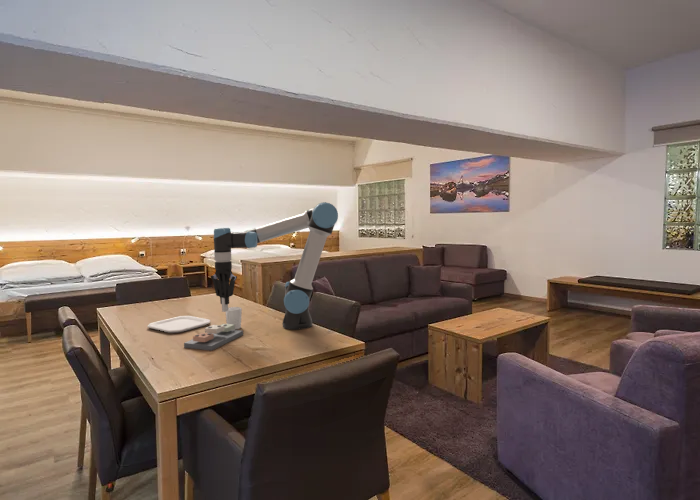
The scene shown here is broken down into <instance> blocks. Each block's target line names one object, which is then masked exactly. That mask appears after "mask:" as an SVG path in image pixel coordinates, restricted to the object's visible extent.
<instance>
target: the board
mask: <svg viewBox="0 0 700 500" xmlns="http://www.w3.org/2000/svg"><path fill="white" fill-rule="evenodd" d="M212 334H214V333H212ZM242 336H244V330H241V329H236V330H231V331H229V332H219V333H217V334H214V338H213V339H211V340H209V341H207V342H197V341H193V338H192V339H189V340H188V341H185V342H184V343H183V348H185V349H187V348H188V349H194V350H195V349H196V350H203V351H204V350H205V351H213V350H214V351H215V350H216V349H218V348H220V347H222V346H223V345H226V344H228V343H230V342H232V341H233V340H237V339H238V338H240V337H242Z"/></svg>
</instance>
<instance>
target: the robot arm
mask: <svg viewBox="0 0 700 500" xmlns="http://www.w3.org/2000/svg"><path fill="white" fill-rule="evenodd" d="M338 220H339V213H338V210H337V208H336V207H335V205H333V204H332V203H330V202H320V203H318V204H316V206H314V207H312V208H309V209H307V210H305V211H304V212H303V213H299V214H296V215H293V216H291V217H287V218H284V219H280V220H277V221H274V222H271V223H268V224H264V225H261V226H258V227H254V228H252V229H247V230H245V231H231V227H230V228H229V227H216V228H214V230H213V238H212V239H213V248H214V249H213V251H214V253H213V254H214V257H213V258H214V261H215V262H214V270H215V271H214V274H213V275H210V278H211V280H212V282H213V283H212V284H213V287H214V291H215V296H216V297H219V299H220V300H219V301H220V305H221V312H223V313H226V311H228V308H229V304H230V298H231V297H232V296H234V289H235V284H236V281H237V279H238V276H237V275H234V274H233V271H232V269H233V265H232V264H233V263H232V249H252V248H253V249H254V248H257V246H258V244H260V243H263V242H266V241H269V240H273V239H277V238H279V237H282V236H286V235H290V234H292V233H295V232H298V231H299V232H300V231H302V230H305V229H309V233H308V236H307V239H306V243H305V244H304V249H303V251H302V254H301V257H300V260H299V263H298V266H297V269H296V272H295V275H294V278H293V279H291V280H289V281H286V282H285V286H284V289H285V290H284V291H285V292H284V293H285V294H284V297H283V305H284V307H285V313H284V316H283V319H282V328H284V329H287V330H295V331H296V330H297V331H299V330H305V329H309V328H311V327H312V326H313V320H312V316H311V313H310V311H309V307H310V299H311V297H312V293H313V291H314V287H313V280H314V277H315V274H316V271H317V268H318V265H319V263H320V260H321V256H322V254H323V252H324V251H323V250H324V247H325V244H326V241H327V238H328V237H329V236H331V235H332V234H333V231H334V228H335V225H336V224H337V222H338Z"/></svg>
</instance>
